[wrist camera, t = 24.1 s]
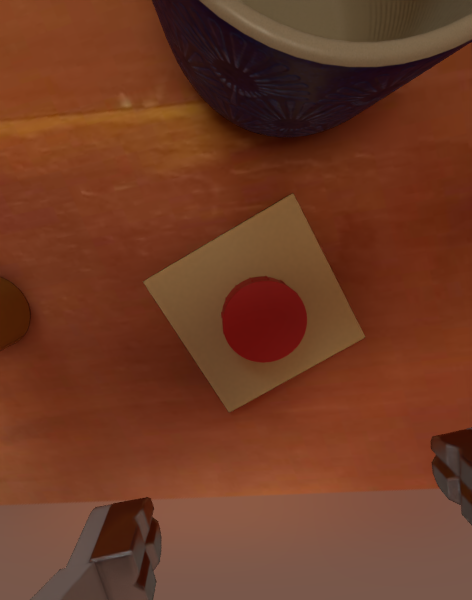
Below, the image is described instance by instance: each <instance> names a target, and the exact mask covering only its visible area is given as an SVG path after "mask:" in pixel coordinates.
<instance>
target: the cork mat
mask: <svg viewBox="0 0 472 600" xmlns="http://www.w3.org/2000/svg"><path fill="white" fill-rule="evenodd" d="M259 276H267V277H272V278H275V279H278V280H282V281H283V282H284V283H285V284H286V285H287V286H289V287H290V288H291V289H293V290H294V291H295V292H297V293H298V295H299V297H300V298H301V300H302V301H303V303H304V306H305V309H306V312H307V327H306V331H305V334H304V337H303V339H302V341H301V342H300V344H299V345H298V346H297V348H296V349H295V350H294V351H293V352H291V353H290V354H289V355H287V356H286V357H284V358H282V359H280V360H277V361H273V362H265V363H261V362H254V361H250V360H247V359H245V358H243V357H241V356H240V355H238V354H237V353H236V352H235V351H234V350H233V349H232V348H231V347H230V345H229V344H228V342H227V340H226V338H225V335H224V334H223V325H222V318H221V312H222V309H223V305H224V302H225V298H226V297H227V296H228V294H229V293H230V292H231V290H232V289H233V288H234V287H235V285H238V284H239V283H241V282H242V281H244V280H247V279H249V277H251V278H252V277H259ZM143 283H144V284H145V286H146V287H147V289H148V291H149V292H150V294H151V295H152V297H153V298H154V300H155V301H156V303H157V304H158V306H159V307H160V309H161V310H162V312H163V313H164V315H165V316H166V318H167V319H168V321H169V322H170V324H171V325H172V327H173V328H174V330H175V331H176V333H177V334H178V336H179V338H180V339H181V341H182V342H183V344H184V345H185V347H186V348H187V350H188V351H189V353H190V354H191V356H192V357H193V359H194V360H195V362H196V363H197V365H198V366H199V368H200V369H201V371H202V372H203V374H204V375H205V377H206V378H207V380H208V382H209V383H210V385H211V386H212V388H213V389H214V391H215V392H216V394H217V395H218V397H219V398H220V400H221V401H222V403H223V404H224V406H225V407H226V409H227V410H228V412H231V411H233V410H235V409H237V408H239V407H240V406H242V405H244V404H246V403H248V402H249V401H251V400H253V399H255V398H257V397H258V396H260V395H262V394H264V393H266V392H267V391H269V390H271V389H273V388H275V387H276V386H278V385H280V384H282V383H284V382H286V381H287V380H289V379H291V378H293V377H295V376H296V375H298V374H300V373H302V372H304V371H305V370H307V369H309V368H311V367H313V366H314V365H316V364H318V363H320V362H322V361H323V360H325V359H327V358H329V357H331V356H333V355H334V354H336V353H338V352H340V351H342V350H343V349H345V348H347V347H349V346H351V345H352V344H354V343H356V342H358V341H360V340H361V339H363V338H365V335H364V333H363V331H362V329H361V327H360V325H359V323H358V321H357V319H356V317H355V315H354V313H353V312H352V310H351V308H350V306H349V304H348V302H347V300H346V298H345V296H344V294H343V292H342V290H341V288H340V286H339V284H338V282H337V280H336V278H335V276H334V274H333V272H332V270H331V268H330V266H329V264H328V262H327V260H326V258H325V256H324V254H323V252H322V250H321V248H320V246H319V244H318V242H317V240H316V238H315V236H314V234H313V232H312V230H311V228H310V226H309V224H308V222H307V220H306V218H305V216H304V214H303V212H302V210H301V208H300V206H299V204H298V202H297V200H296V198H295V196H294V194H293V193H292V194H290V195H288V196H287V197H285V198H283V199H282V200H280V201H278V202H277V203H275V204H273V205H272V206H270V207H268V208H266V209H265V210H263V211H261V212H260V213H258V214H256V215H255V216H253V217H251V218H250V219H248V220H246V221H244V222H243V223H241V224H239V225H238V226H236V227H234V228H233V229H231V230H229V231H228V232H226V233H224V234H222V235H221V236H219V237H217V238H216V239H214V240H212V241H211V242H209V243H207V244H206V245H204V246H202V247H200V248H199V249H197V250H195V251H194V252H192V253H190V254H189V255H187V256H185V257H184V258H182V259H180V260H178V261H177V262H175V263H173V264H172V265H170V266H168V267H167V268H165V269H163V270H162V271H160V272H158V273H156V274H155V275H153V276H151V277H150V278H148V279H146V280H145V281H143Z"/></svg>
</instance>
